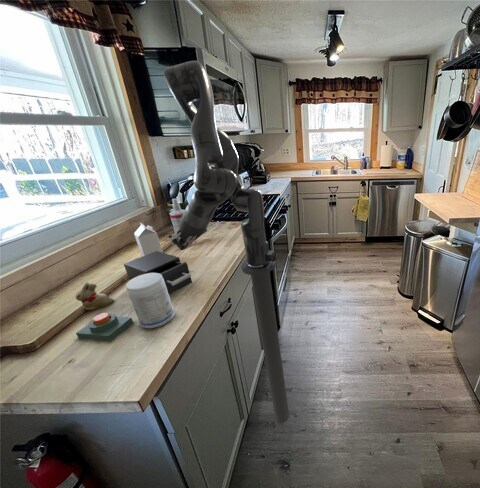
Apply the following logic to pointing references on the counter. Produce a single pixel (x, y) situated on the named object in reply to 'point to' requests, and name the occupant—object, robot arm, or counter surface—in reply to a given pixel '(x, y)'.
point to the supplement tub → (150, 300)
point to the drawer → (175, 276)
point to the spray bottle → (177, 217)
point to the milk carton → (147, 240)
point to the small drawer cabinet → (148, 263)
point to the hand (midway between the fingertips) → (181, 247)
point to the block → (105, 329)
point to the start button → (101, 318)
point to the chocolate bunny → (92, 297)
